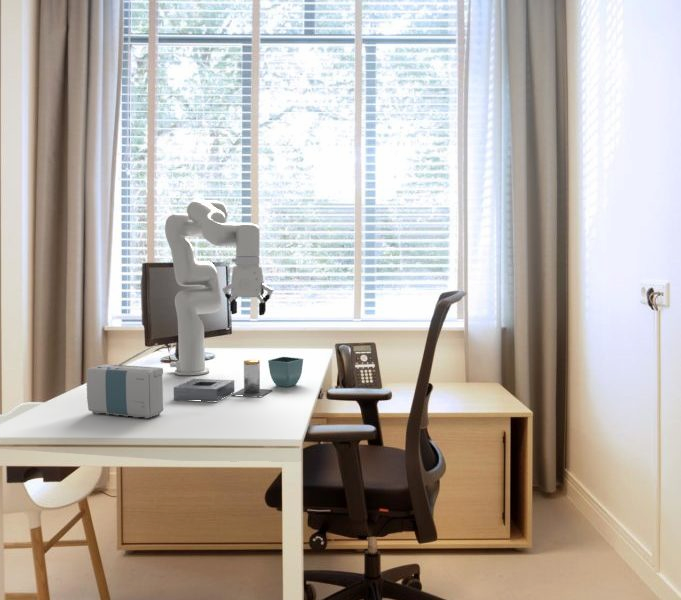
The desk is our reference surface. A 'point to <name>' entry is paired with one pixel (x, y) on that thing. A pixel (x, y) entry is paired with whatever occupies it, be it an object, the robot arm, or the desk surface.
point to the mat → (261, 393)
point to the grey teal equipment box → (125, 389)
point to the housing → (204, 390)
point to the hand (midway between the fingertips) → (247, 314)
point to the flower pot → (285, 370)
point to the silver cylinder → (251, 376)
